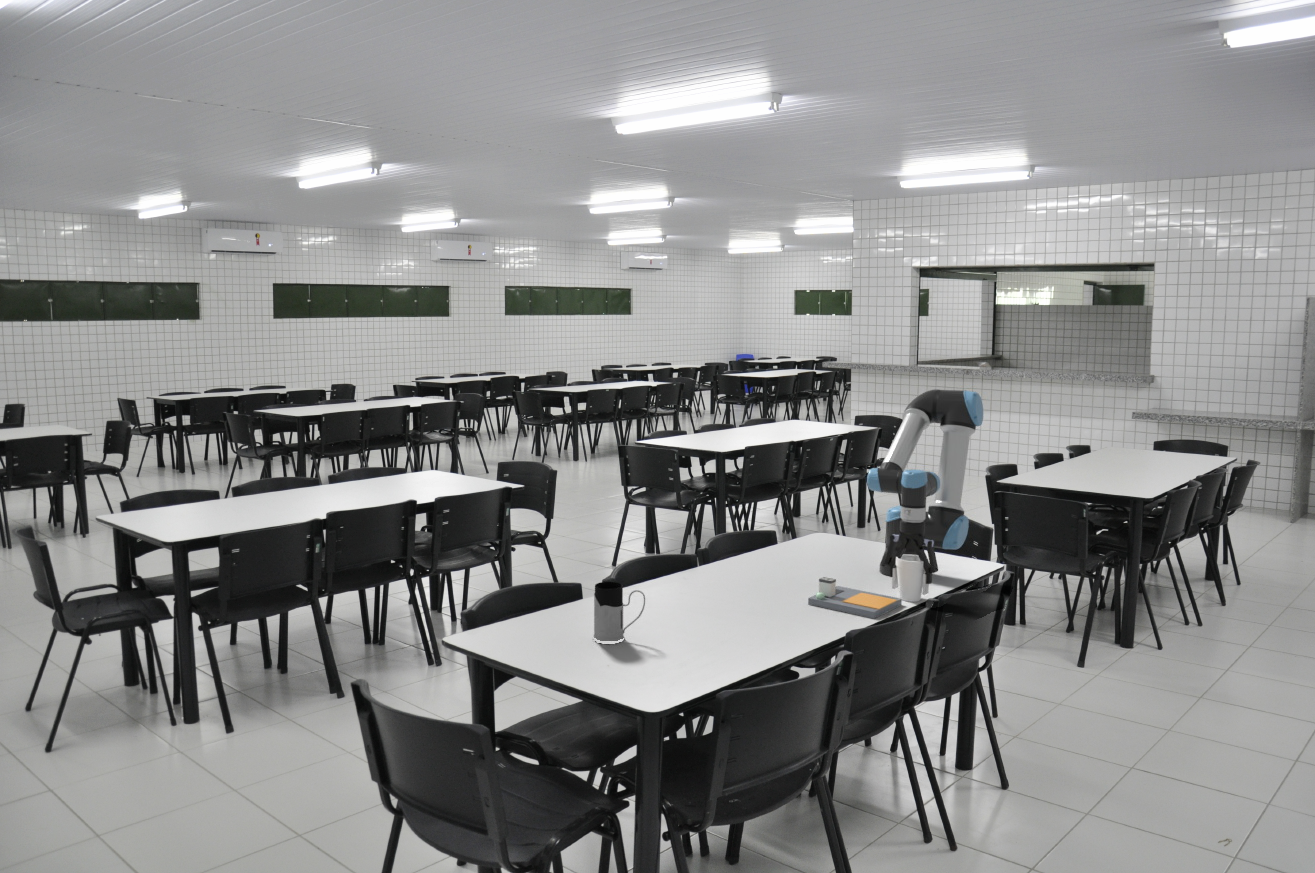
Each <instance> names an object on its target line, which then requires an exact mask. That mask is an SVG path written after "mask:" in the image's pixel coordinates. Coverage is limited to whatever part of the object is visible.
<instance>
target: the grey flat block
mask: <svg viewBox="0 0 1315 873" xmlns="http://www.w3.org/2000/svg"><path fill="white" fill-rule="evenodd" d="M902 601H903V600H902V599H901V598H900V597H895V596H890V595H886V594H885V595H884V594H879V593H876V592H872V591H871V592H870V591H865V590H860V589H855V588H851V587H844V586H840V585H836V586H835V595H834V596H832V597H827V596H824V593H819V592H816V594H815V595H812V596H809V597H808V600H807V602H808V603H807V605H810V606H814V607H818V606H819V608H824V609H827V608H828V610H832V611H836V610H837V612H841V611H842V612H841V613H845V612H846V613H845V614H850V613H851V615H855V614H856V615H855V616H859V615H860V616H861V617H865V618H868V619H869V618H870V619H873V620H874V619H876V618H878V617H880V616H882V615H884V614H886V613H889V612H890V611H892V610H894V609H896V608H898V607H901V606H902Z"/></svg>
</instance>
